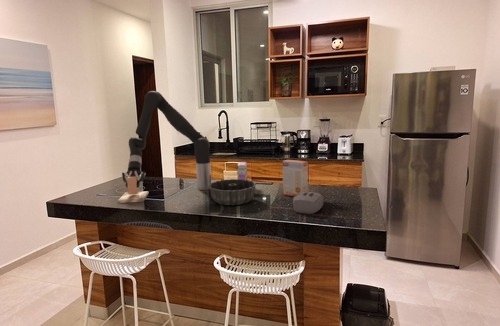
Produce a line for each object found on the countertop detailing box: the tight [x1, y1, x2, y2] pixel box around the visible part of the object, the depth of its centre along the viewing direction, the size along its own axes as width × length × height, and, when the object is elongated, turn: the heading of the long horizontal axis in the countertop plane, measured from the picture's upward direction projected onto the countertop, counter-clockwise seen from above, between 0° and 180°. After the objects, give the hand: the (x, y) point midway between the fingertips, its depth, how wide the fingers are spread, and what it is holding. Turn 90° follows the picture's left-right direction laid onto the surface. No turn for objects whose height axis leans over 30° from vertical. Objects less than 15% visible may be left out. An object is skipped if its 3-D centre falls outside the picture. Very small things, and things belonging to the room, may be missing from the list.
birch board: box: [117, 190, 149, 204], centre depth 191 cm, size 14×18×2 cm
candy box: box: [236, 161, 248, 180], centre depth 208 cm, size 14×6×16 cm, turn 179°
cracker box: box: [282, 159, 309, 198], centre depth 186 cm, size 14×6×21 cm, turn 47°
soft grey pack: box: [292, 191, 324, 215], centre depth 164 cm, size 15×8×20 cm
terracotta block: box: [126, 176, 140, 195], centre depth 190 cm, size 5×5×10 cm
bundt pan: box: [209, 178, 257, 206], centre depth 179 cm, size 26×26×10 cm
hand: (132, 187), depth 188 cm, fingers closed on terracotta block, 5 cm apart
